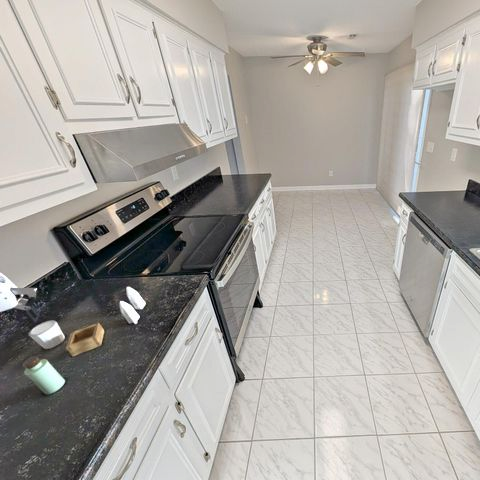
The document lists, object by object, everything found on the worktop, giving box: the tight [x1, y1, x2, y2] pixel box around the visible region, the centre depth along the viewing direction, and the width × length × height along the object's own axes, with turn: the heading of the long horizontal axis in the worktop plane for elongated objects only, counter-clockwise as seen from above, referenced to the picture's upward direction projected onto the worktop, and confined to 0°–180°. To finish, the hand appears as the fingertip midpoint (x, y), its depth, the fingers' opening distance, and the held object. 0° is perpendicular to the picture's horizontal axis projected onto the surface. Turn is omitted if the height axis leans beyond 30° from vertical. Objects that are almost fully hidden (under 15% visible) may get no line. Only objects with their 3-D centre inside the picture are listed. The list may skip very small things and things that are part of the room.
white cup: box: [28, 320, 66, 350], centre depth 86 cm, size 7×7×7 cm
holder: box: [65, 322, 105, 357], centre depth 85 cm, size 8×8×4 cm
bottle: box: [22, 355, 66, 395], centre depth 70 cm, size 5×5×12 cm
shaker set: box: [118, 286, 146, 325], centre depth 95 cm, size 12×4×11 cm, turn 12°
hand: (10, 327), depth 64 cm, fingers open, 9 cm apart
